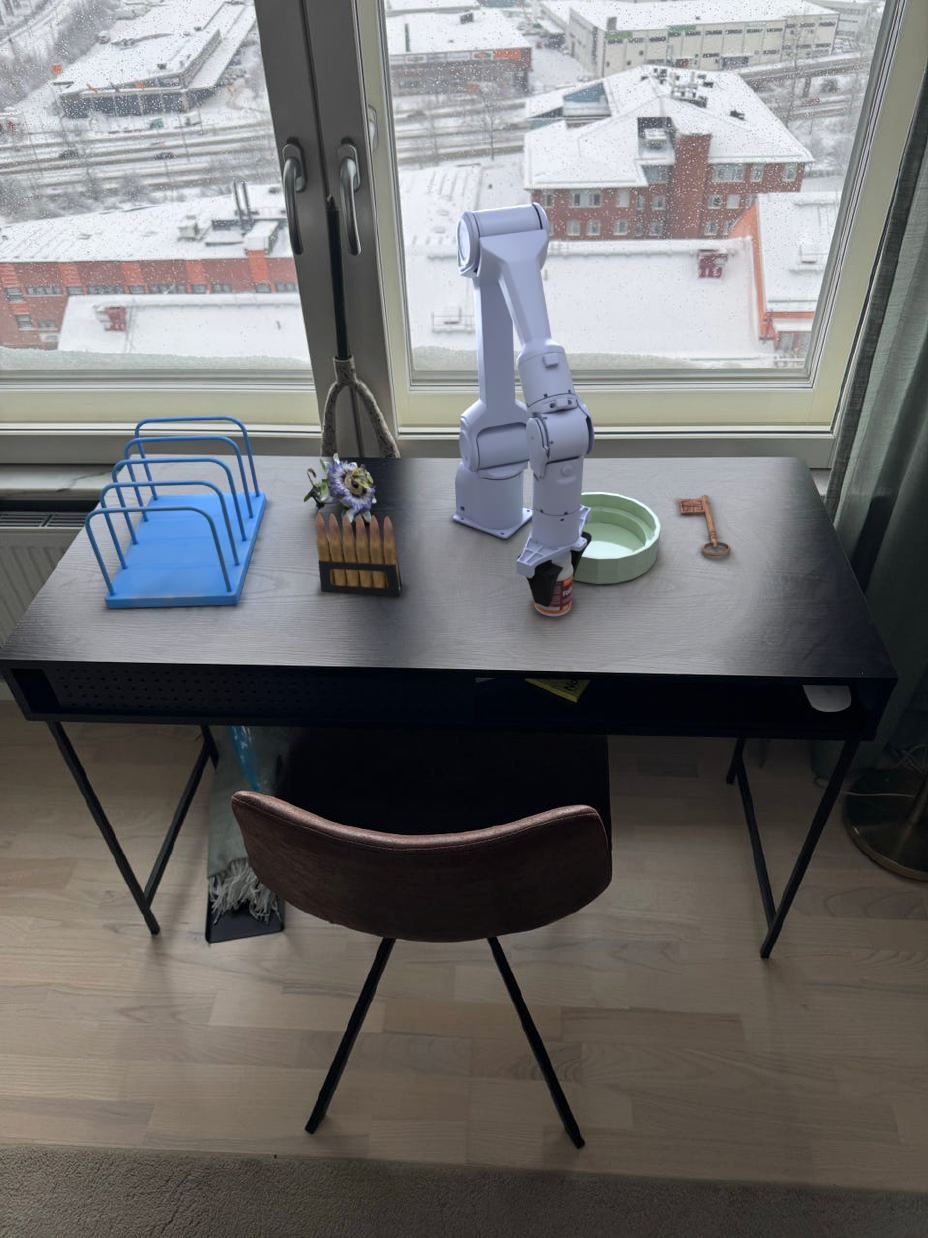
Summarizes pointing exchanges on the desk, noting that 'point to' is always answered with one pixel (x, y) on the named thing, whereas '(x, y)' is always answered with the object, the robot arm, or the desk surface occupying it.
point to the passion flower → (344, 489)
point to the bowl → (617, 539)
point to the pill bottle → (560, 588)
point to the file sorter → (182, 533)
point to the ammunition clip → (357, 558)
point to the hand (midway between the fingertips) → (552, 592)
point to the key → (712, 532)
